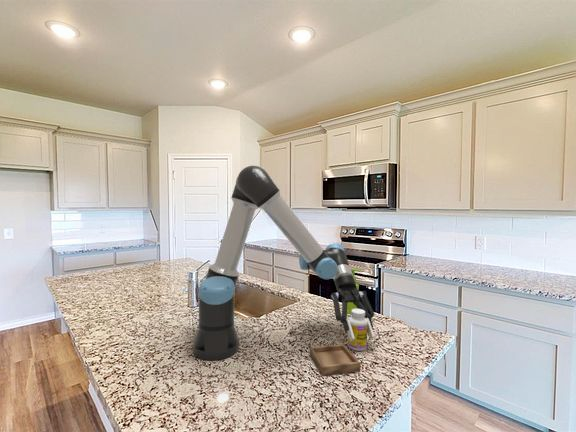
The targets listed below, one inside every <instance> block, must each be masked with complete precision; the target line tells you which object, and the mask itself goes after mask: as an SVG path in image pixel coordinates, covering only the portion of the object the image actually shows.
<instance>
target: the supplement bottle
mask: <svg viewBox="0 0 576 432" xmlns="http://www.w3.org/2000/svg"><path fill="white" fill-rule="evenodd" d="M364 316H365V311H364V310H362V309H352V311H351V314H350V316H349V317H348V319H347V320H350V324H351V327H352V331H353V334H354V337H355V339H354V340H353V341H352V342H350V340H349V336H348V335H347V348H348V349H350V350H353V351H357V352H363V351H365V350H367V347H368V333H367V329H368V321H367V319H366V318H365V317H364Z"/></svg>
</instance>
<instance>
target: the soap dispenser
mask: <svg viewBox="0 0 576 432" xmlns="http://www.w3.org/2000/svg"><path fill="white" fill-rule="evenodd" d="M350 269H351V271H352V274H353V277H354V280H355V283H356V288H357V289H358V290H360V289H359V287H360V285H359V283H357V276H355V272H358V273H362V270H361V269H357V268H350ZM352 309H358V308H357V307H356V305H354V304H353V302H348V303H347V315H352V314H351V311H352Z"/></svg>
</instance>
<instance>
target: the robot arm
mask: <svg viewBox="0 0 576 432" xmlns="http://www.w3.org/2000/svg"><path fill="white" fill-rule="evenodd" d="M231 200H232V202H233V203H232V207H231V210H230V214H229V217H228V220H227V224H226V225H225V226H226V227H225V230H224V233H223V237H222V239H221V243H220V246H219V249H218V252H217V254H216V258H215V262H214V263H213V264H210V266H208V270H207V273H206V276H205V278H204V279H203V280H202V281H200V283H199V286H198V289H197V290H198V293H197V294H198V329H197V332H196V335H195V338H194V341H193V345H192V352H193V353H192V354H193V355H194V356H195V357H196V358H198V359H201V360H205V361H219V360H225V359H227V358H229V357H232V356H234V355H235V354H236V353H237V352H238V351H239V349H240V339H239V337H238V333H237V329H236V327H235V292H236V285H237V283H238V278H239V276H240V273H239V271H238V265H239V262H240V261H241V257H242V253H243V250H244V246H245V244H246V241H247V237H248V234H249V231H250V228H251V226H252V221H253V218H254V216H255V215H254V214H255V212H256V210H258V209H262V210H263V211H264V212H265V213H266V214H267V216H268V217H269V219H271V221H272V222H273V223H274V224H275V226H276V227H277V229H279V230H280V232H281V233H282V234H283V235H284V236H285V238H286V239H287V240H288V241H289V242H290V243H291V245H292V246H293V247H294V249H295V250H296V251H297V252H298V253H299V255H298V257H299V258H298V259H299V261H298V262H299V263H298V264H299V267H300V269H301V270H303V271H309V270H311V271H312V272H313V273H315V275H317V276H318V278H320V279H323V280H330V279H333V281H334V286H335V287H336V291H337V292H334V291H332V293H331V295H330V298H331V300H332V303H333V308H334V309H333V310H334V315H335V319H336V321H337V322H340V323H341V324H342V325H343V330H344V331H345V332H347V337H348V336H349V340H350V342H352V341H353V340H354V339H355V337H354V334H353V331H352V327H351V324H350V320H348V319H347V318H348V314H347V303H348V302H353V304H354V305H356V307H357V308H358V309H362V310H364V311H365V316H364V317H365V318H366V319H367V321H368V329H367V337H368V339H369V340H373V339H374V338H375V337H376V336H375V334H374V330H373V328H374V323H373V321H372V319H373V317H375V315H376V314H375V312H374V309H373V308H372V305H371V303H370V300H369V299H368V296H367V291H366V290H363V291H359V290H360V289H359V290H358V289H357V288H356V283H357V282H356V283H355V280H354V277H353V274H352V271H351V269H352V268H351V266H350V264H349V260H348V257H347V253H346V250H345V248H344V246H343V245H342V244H341V243H339V242H332V244H331V243H330V244H328V245H327V246H326V248H325V249H324V248H323V247H322V246H321V245H320V244H319V242H318V241H317V239H316V238H315V237H314V236H313V235H312V234H311V232H310V231H309V230H308V228H307V227H306V226H305V225H304V223H303V222H302V221H301V220H300V219H299V217H298V216H297V214H295V212H294V211H293V210H292V208H291V207H290V206H289V205H288V203H287V202H286V201H285V200H284V198H283V197H282V196H281V190H280V189H279V188H278V186H277V185H276V183H275V182H274V181H273V179H272V178H271V176H270V175H269V173H268V172H267V171H266V170H265V169H264V168H262V167H260V166H257V165H248V166H246V167H244V168H242V169H241V170H240V172H239V173H238V176H237V178H236V181H235V185H234V188H233V191H232V194H231ZM339 299H341V306H340V301H339Z"/></svg>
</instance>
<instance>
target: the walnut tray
mask: <svg viewBox="0 0 576 432" xmlns="http://www.w3.org/2000/svg"><path fill="white" fill-rule="evenodd" d="M309 356H310V358H311V360H312V361H313V362H314V365H315V367H316V369H317V370H318V372H319V373H320V375H321V376H322V377H323V376H331V375H339V374H340V375H341V374H347V373H356V372H361V362H360V361H359V360H358V359H357V358H356V356H355V355H354V354H353V353H352V352H351V350H349V347H348V346H347V345H345V343H342V344H333V345H331V344H330V345H321V346H312V347H311V346H310V347H309Z"/></svg>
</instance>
